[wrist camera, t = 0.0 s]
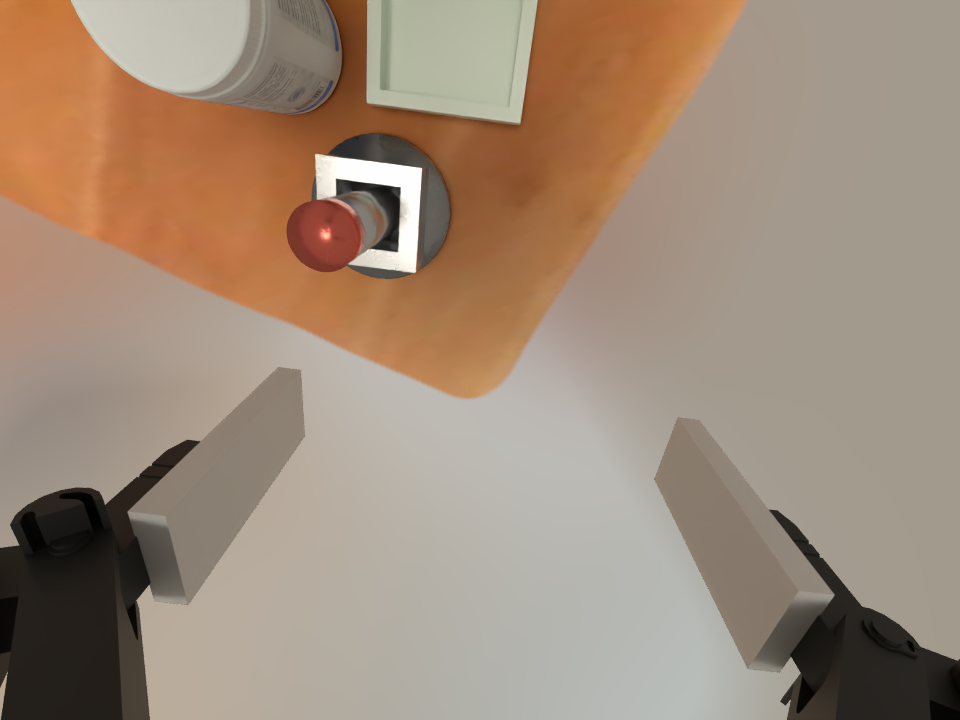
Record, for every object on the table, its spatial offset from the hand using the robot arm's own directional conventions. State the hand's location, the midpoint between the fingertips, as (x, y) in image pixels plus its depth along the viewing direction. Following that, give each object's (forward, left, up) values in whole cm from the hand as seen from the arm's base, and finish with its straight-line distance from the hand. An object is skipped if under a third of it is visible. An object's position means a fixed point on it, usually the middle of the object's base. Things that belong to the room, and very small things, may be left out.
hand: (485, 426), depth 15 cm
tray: (-17, -5, -28) cm, 33 cm away
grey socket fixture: (-3, -10, -28) cm, 30 cm away
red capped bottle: (-3, -10, -26) cm, 29 cm away
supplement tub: (-14, -18, -28) cm, 37 cm away
